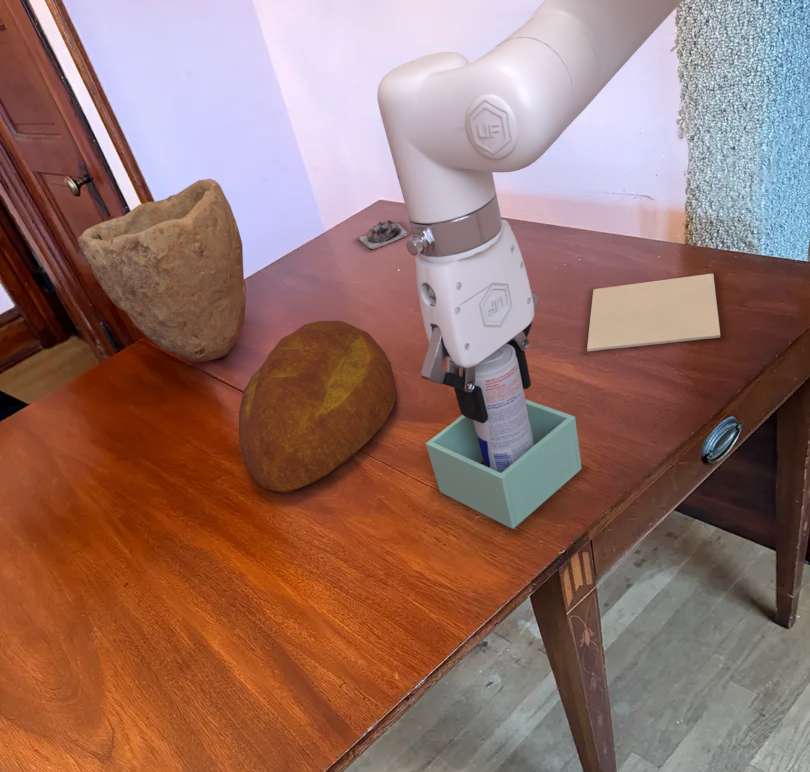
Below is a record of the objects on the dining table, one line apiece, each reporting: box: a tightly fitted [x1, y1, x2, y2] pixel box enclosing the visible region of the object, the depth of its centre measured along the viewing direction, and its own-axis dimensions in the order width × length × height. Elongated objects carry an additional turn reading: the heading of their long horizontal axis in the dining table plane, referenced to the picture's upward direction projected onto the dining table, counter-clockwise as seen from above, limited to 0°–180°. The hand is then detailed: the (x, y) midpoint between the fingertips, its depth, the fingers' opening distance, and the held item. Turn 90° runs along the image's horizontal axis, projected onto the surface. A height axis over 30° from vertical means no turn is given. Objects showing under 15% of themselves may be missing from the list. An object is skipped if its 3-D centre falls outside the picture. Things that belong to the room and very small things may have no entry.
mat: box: [586, 272, 721, 353], centre depth 100 cm, size 16×16×1 cm
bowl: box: [77, 178, 247, 364], centre depth 117 cm, size 22×22×25 cm
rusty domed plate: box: [358, 220, 410, 250], centre depth 143 cm, size 8×8×2 cm
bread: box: [238, 320, 398, 494], centre depth 97 cm, size 21×33×12 cm, turn 163°
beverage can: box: [459, 344, 534, 473], centre depth 77 cm, size 6×6×15 cm
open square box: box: [425, 398, 582, 530], centre depth 80 cm, size 11×11×7 cm
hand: (496, 399), depth 75 cm, fingers closed on beverage can, 5 cm apart
